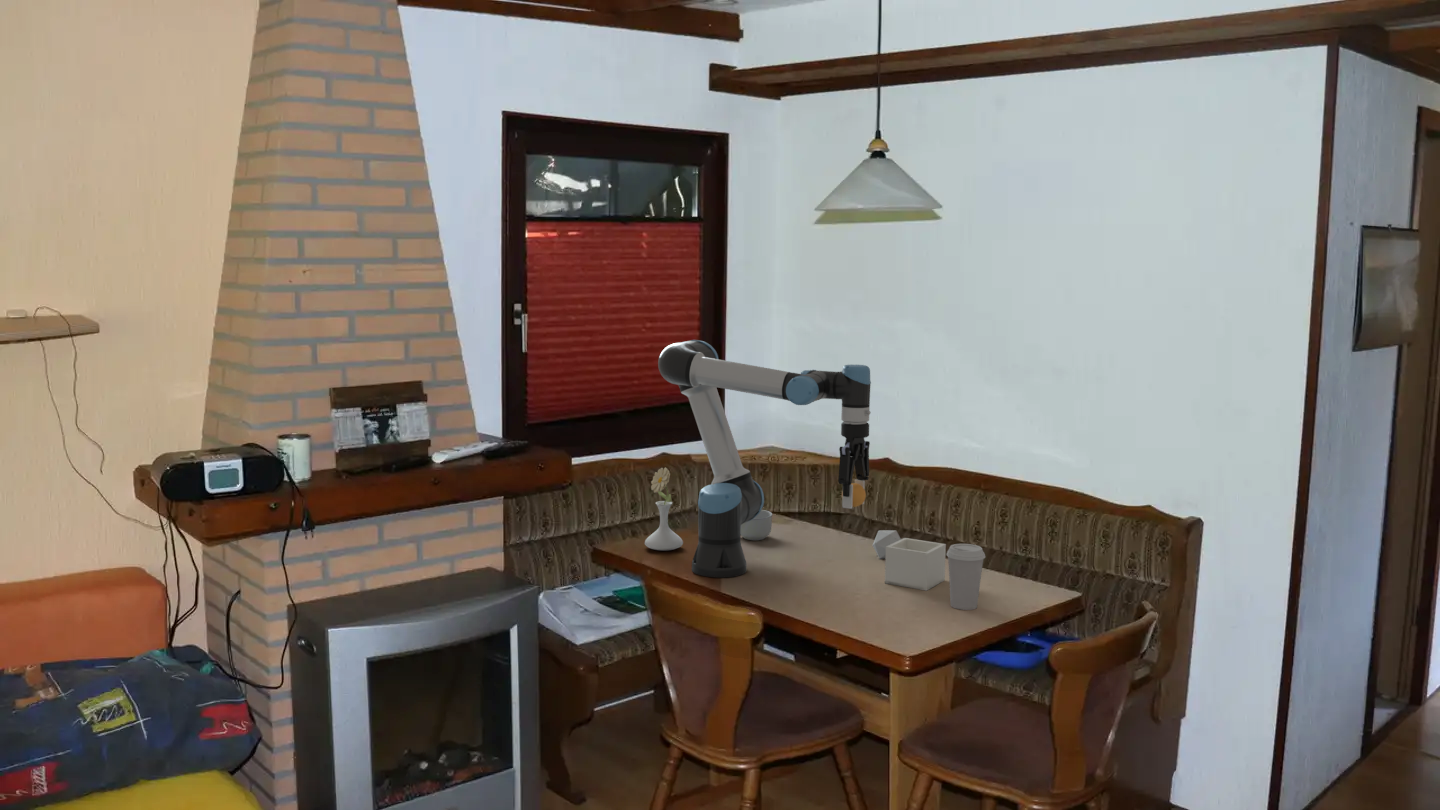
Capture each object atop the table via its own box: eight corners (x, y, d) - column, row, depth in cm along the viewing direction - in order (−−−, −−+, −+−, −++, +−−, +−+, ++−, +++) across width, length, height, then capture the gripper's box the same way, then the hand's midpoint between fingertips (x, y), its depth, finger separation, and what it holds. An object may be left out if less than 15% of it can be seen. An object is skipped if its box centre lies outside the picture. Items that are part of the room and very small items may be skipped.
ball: (858, 510, 315) (859, 486, 315) (837, 507, 319) (837, 483, 318) (869, 506, 321) (870, 482, 320) (848, 503, 324) (848, 480, 324)
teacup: (778, 537, 362) (778, 511, 361) (760, 544, 353) (760, 518, 352) (739, 531, 370) (739, 506, 368) (721, 538, 360) (721, 512, 359)
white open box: (926, 590, 306) (927, 553, 305) (884, 583, 313) (885, 546, 311) (944, 580, 316) (945, 544, 315) (903, 573, 323) (904, 537, 321)
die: (901, 556, 343) (883, 528, 345) (913, 548, 336) (895, 519, 338) (880, 569, 340) (862, 540, 342) (892, 561, 332) (873, 532, 334)
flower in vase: (642, 544, 351) (641, 462, 347) (679, 542, 353) (679, 461, 350) (648, 556, 338) (647, 471, 335) (687, 554, 341) (687, 469, 337)
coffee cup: (936, 603, 295) (938, 545, 293) (965, 598, 300) (967, 541, 298) (962, 614, 287) (964, 554, 285) (991, 608, 292) (993, 549, 290)
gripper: (851, 427, 307) (849, 513, 310) (883, 419, 323) (881, 501, 326) (826, 425, 311) (824, 510, 314) (859, 416, 327) (856, 497, 330)
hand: (853, 505), depth 320 cm, fingers closed on ball, 6 cm apart
